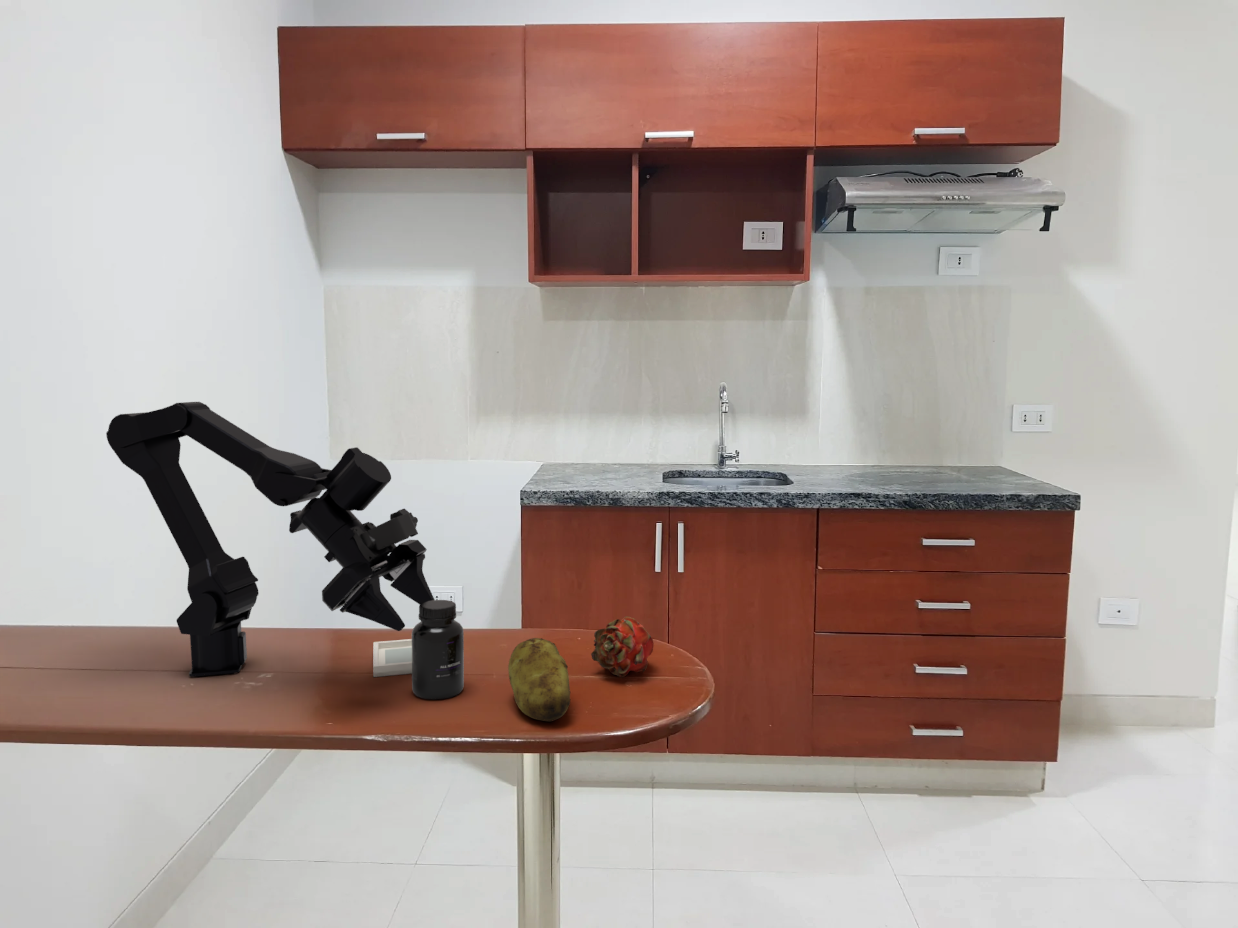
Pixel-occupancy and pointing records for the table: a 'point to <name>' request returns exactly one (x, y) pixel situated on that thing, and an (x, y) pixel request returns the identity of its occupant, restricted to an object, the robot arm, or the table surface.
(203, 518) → the robot arm
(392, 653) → the cream ceramic dish
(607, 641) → the dragon fruit
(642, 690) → the table surface
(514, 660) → the potato
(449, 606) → the supplement bottle
